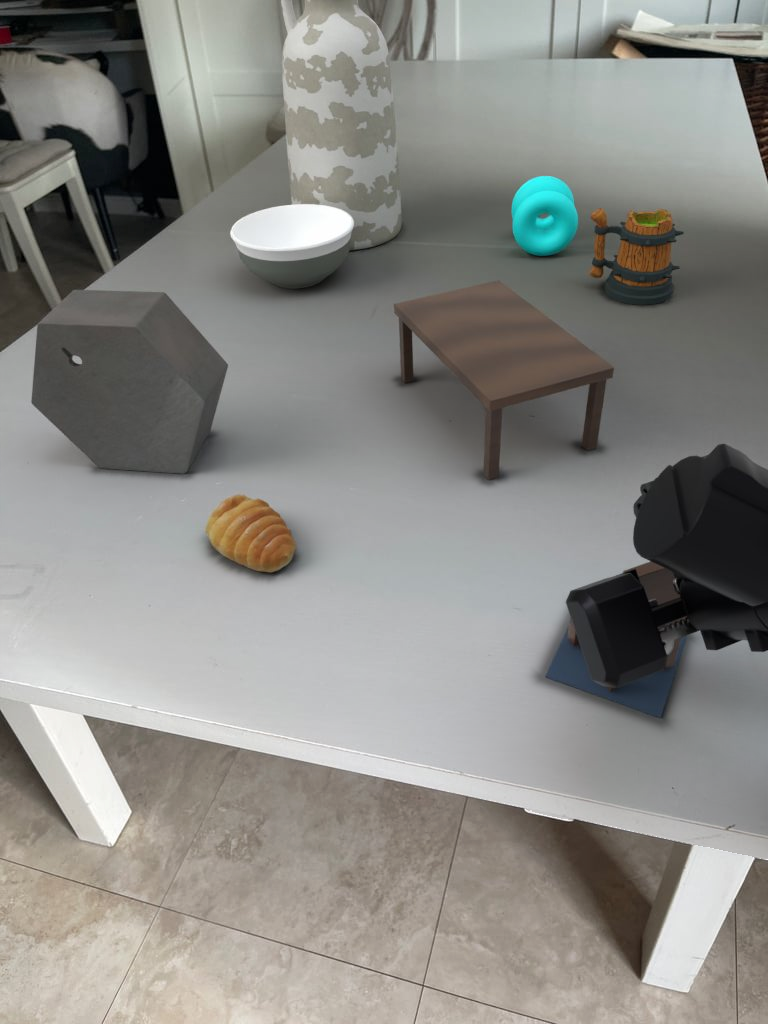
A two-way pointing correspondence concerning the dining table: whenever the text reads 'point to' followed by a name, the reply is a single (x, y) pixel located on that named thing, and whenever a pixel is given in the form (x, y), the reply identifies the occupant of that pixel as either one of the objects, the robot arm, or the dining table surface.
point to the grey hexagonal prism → (127, 379)
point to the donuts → (548, 231)
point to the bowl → (294, 243)
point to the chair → (656, 587)
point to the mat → (637, 694)
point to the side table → (502, 354)
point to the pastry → (251, 534)
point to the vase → (341, 117)
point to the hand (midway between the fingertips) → (641, 599)
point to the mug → (637, 257)
